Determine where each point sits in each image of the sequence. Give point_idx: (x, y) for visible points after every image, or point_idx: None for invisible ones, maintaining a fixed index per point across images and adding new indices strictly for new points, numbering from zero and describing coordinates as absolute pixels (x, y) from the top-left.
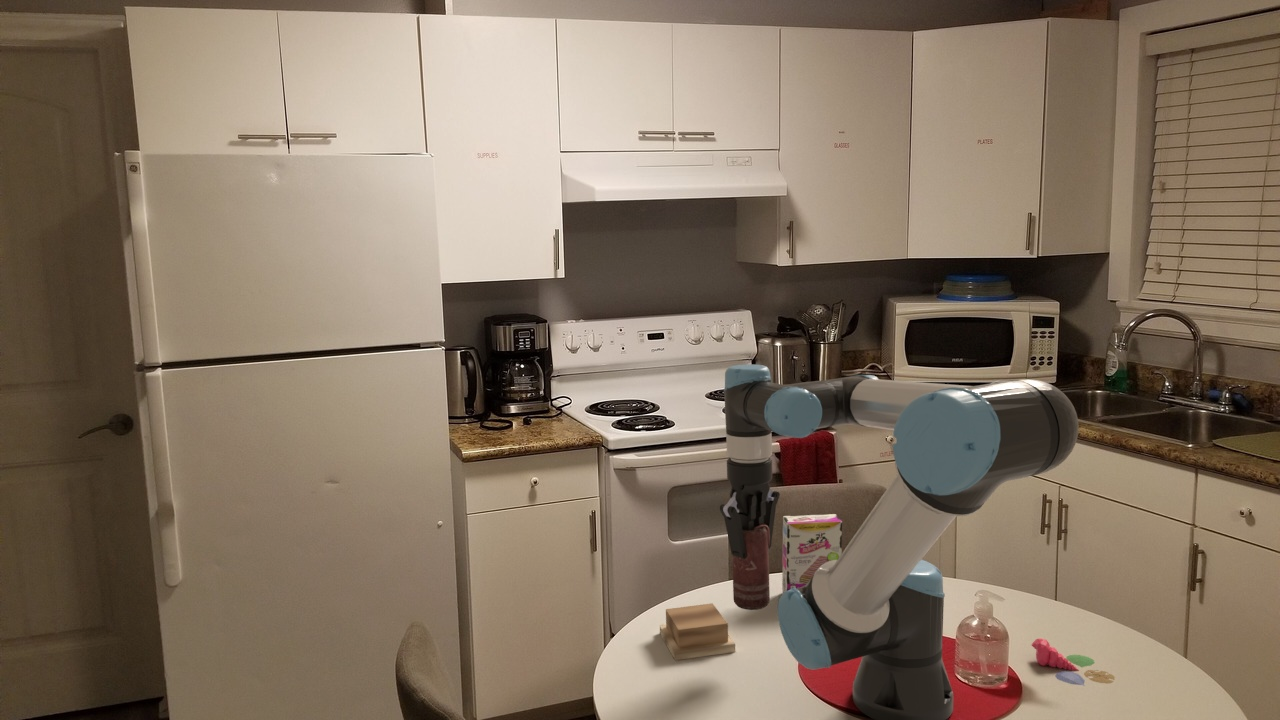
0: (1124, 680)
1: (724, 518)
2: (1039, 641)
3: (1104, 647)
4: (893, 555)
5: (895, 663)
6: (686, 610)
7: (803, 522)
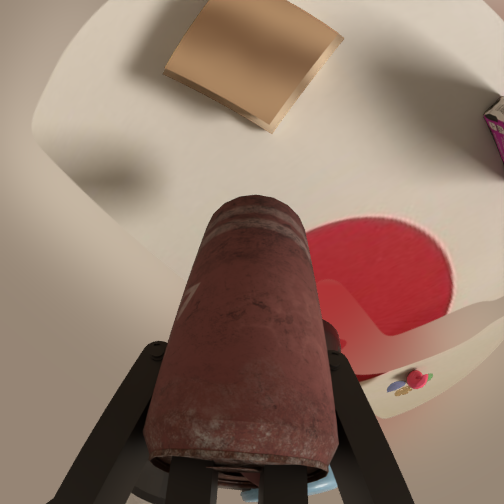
0: (402, 397)
1: (56, 494)
2: (419, 385)
3: (446, 377)
4: None
5: None
6: (260, 8)
7: None
